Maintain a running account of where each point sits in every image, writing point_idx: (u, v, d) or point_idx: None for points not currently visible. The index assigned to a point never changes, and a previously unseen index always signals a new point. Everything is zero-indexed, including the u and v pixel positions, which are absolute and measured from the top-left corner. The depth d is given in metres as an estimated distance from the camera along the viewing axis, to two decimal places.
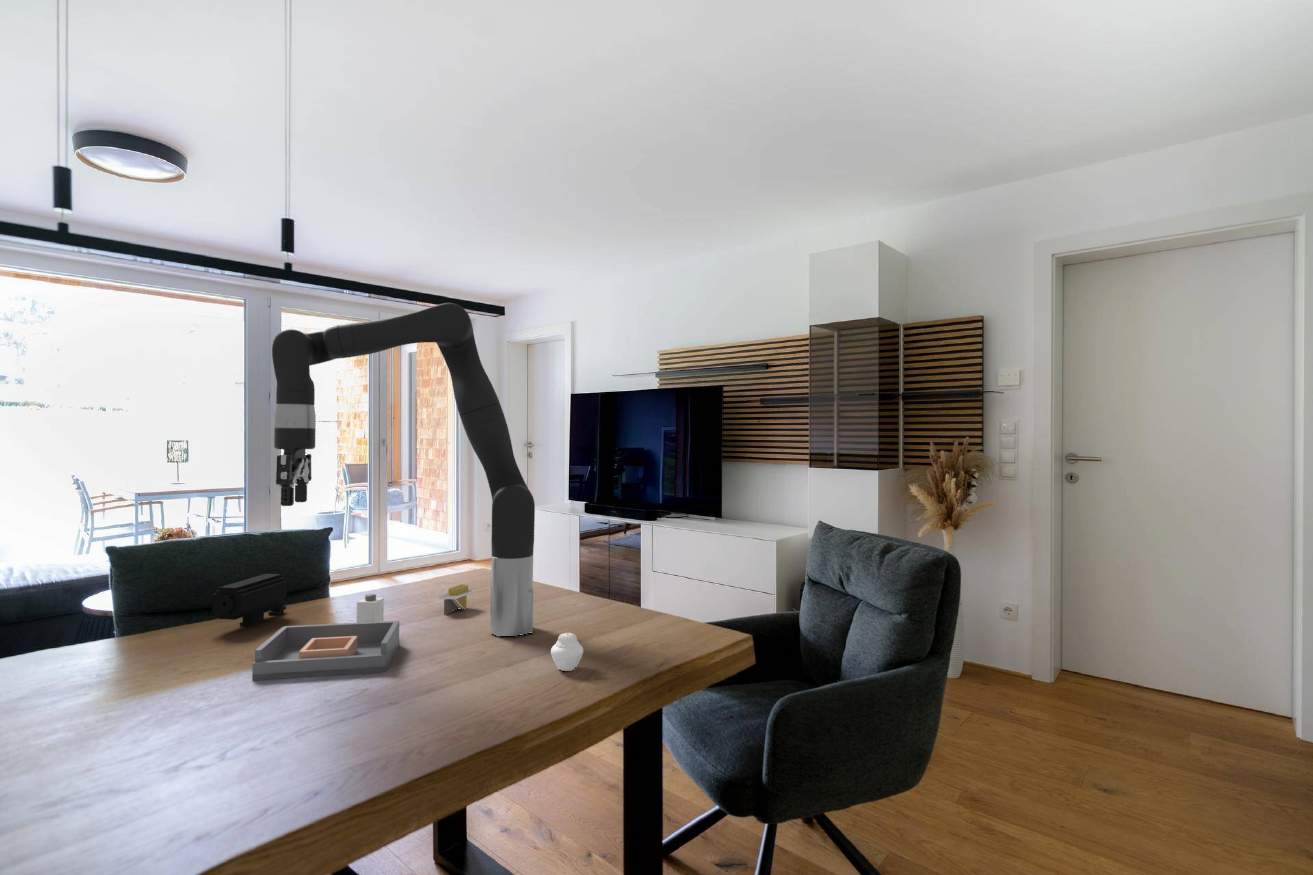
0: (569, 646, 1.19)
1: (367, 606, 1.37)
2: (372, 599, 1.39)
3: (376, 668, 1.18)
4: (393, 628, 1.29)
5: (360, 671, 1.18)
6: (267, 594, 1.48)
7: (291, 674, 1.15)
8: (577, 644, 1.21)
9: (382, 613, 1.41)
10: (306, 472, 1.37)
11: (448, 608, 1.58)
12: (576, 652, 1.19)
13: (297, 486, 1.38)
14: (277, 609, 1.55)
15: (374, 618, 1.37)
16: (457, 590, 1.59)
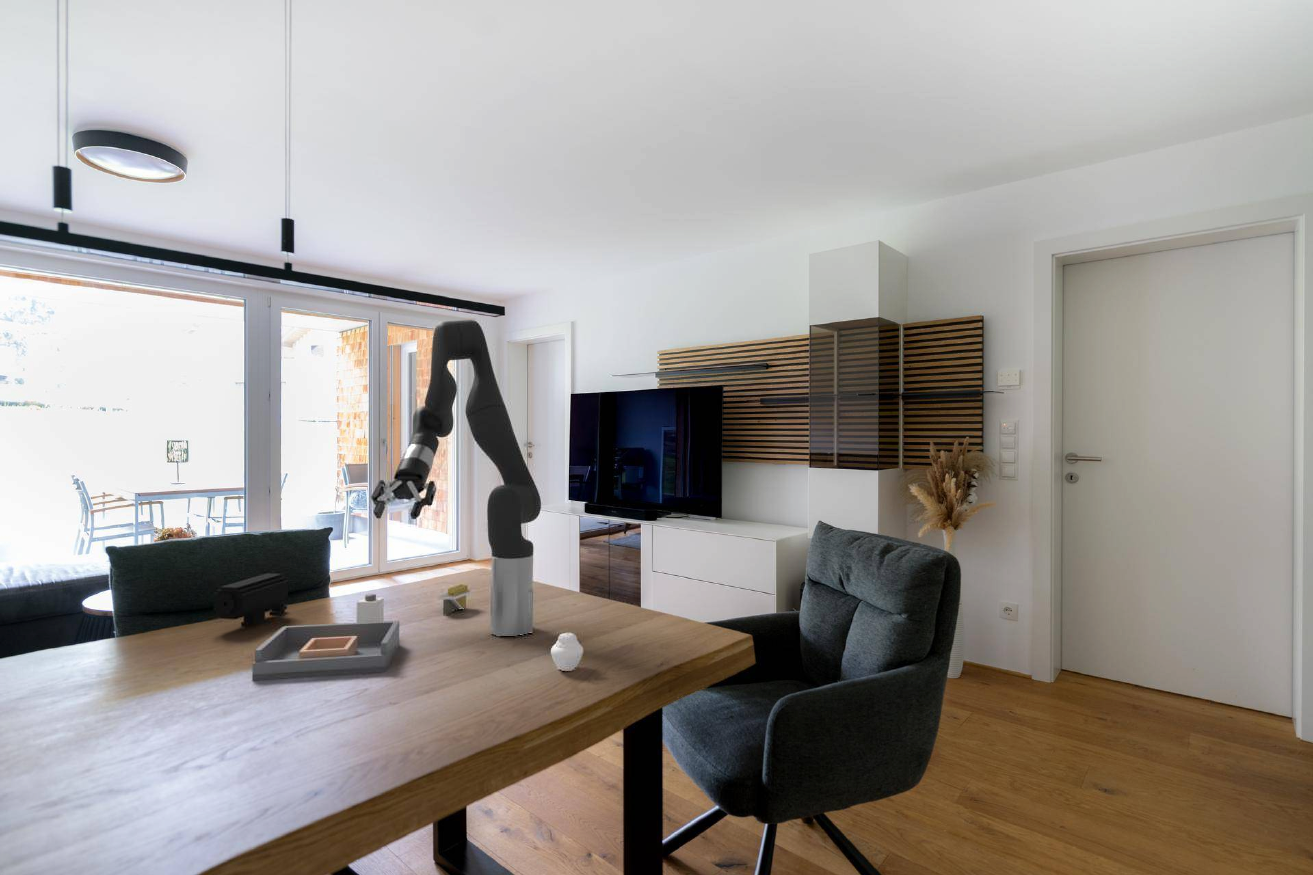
0: (569, 646, 1.19)
1: (367, 606, 1.37)
2: (372, 599, 1.39)
3: (376, 668, 1.18)
4: (393, 628, 1.29)
5: (360, 671, 1.18)
6: (268, 594, 1.48)
7: (291, 674, 1.15)
8: (577, 644, 1.21)
9: (382, 613, 1.41)
10: (411, 491, 1.54)
11: (447, 608, 1.58)
12: (576, 652, 1.19)
13: None
14: (278, 609, 1.56)
15: (374, 618, 1.37)
16: (456, 590, 1.59)
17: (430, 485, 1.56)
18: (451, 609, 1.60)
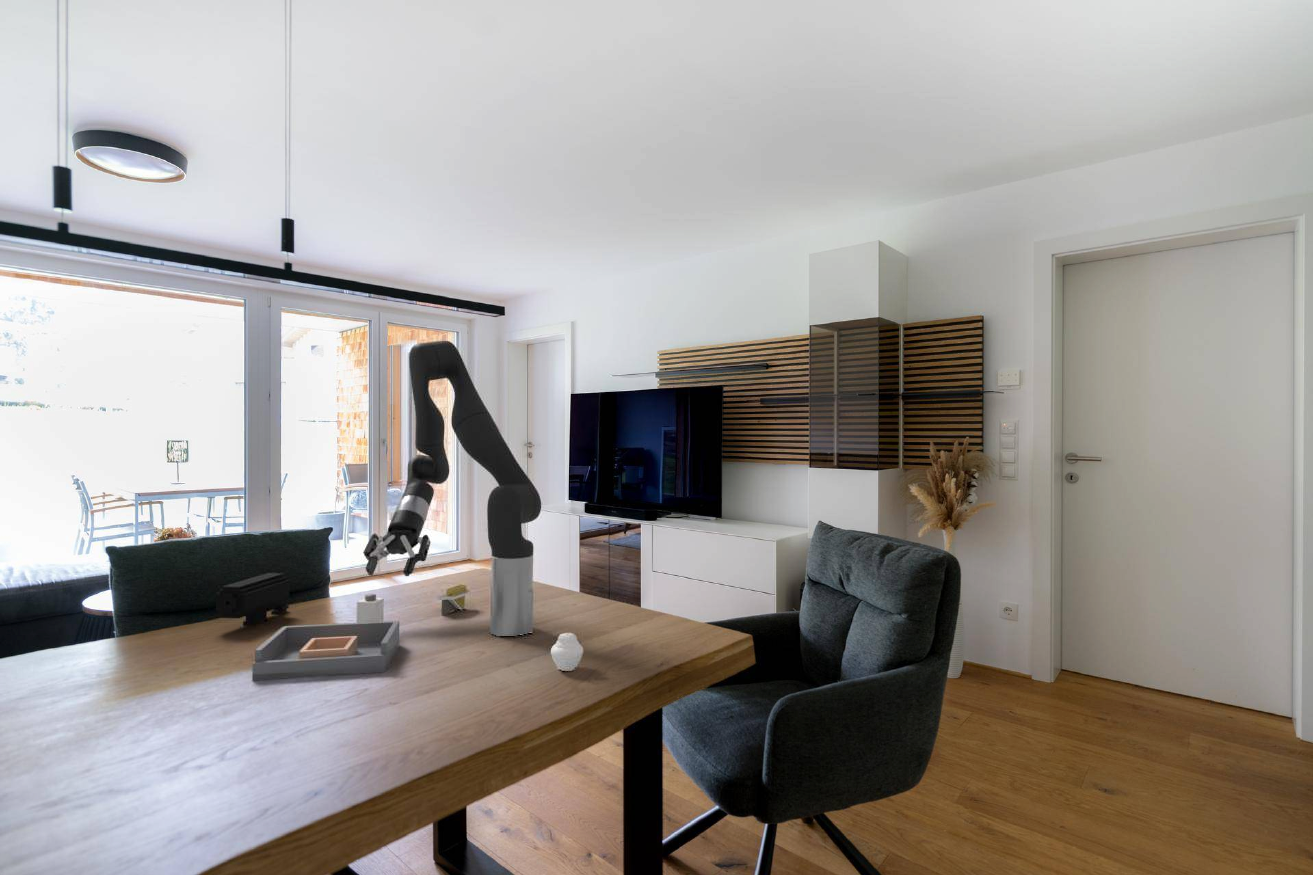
0: (569, 646, 1.19)
1: (367, 606, 1.37)
2: (372, 599, 1.39)
3: (376, 668, 1.18)
4: (393, 628, 1.29)
5: (360, 671, 1.18)
6: (270, 593, 1.49)
7: (291, 674, 1.15)
8: (577, 644, 1.21)
9: (382, 613, 1.41)
10: (405, 547, 1.51)
11: (445, 608, 1.58)
12: (576, 652, 1.19)
13: None
14: (280, 608, 1.56)
15: (374, 618, 1.37)
16: (455, 591, 1.59)
17: (424, 539, 1.53)
18: (450, 609, 1.59)
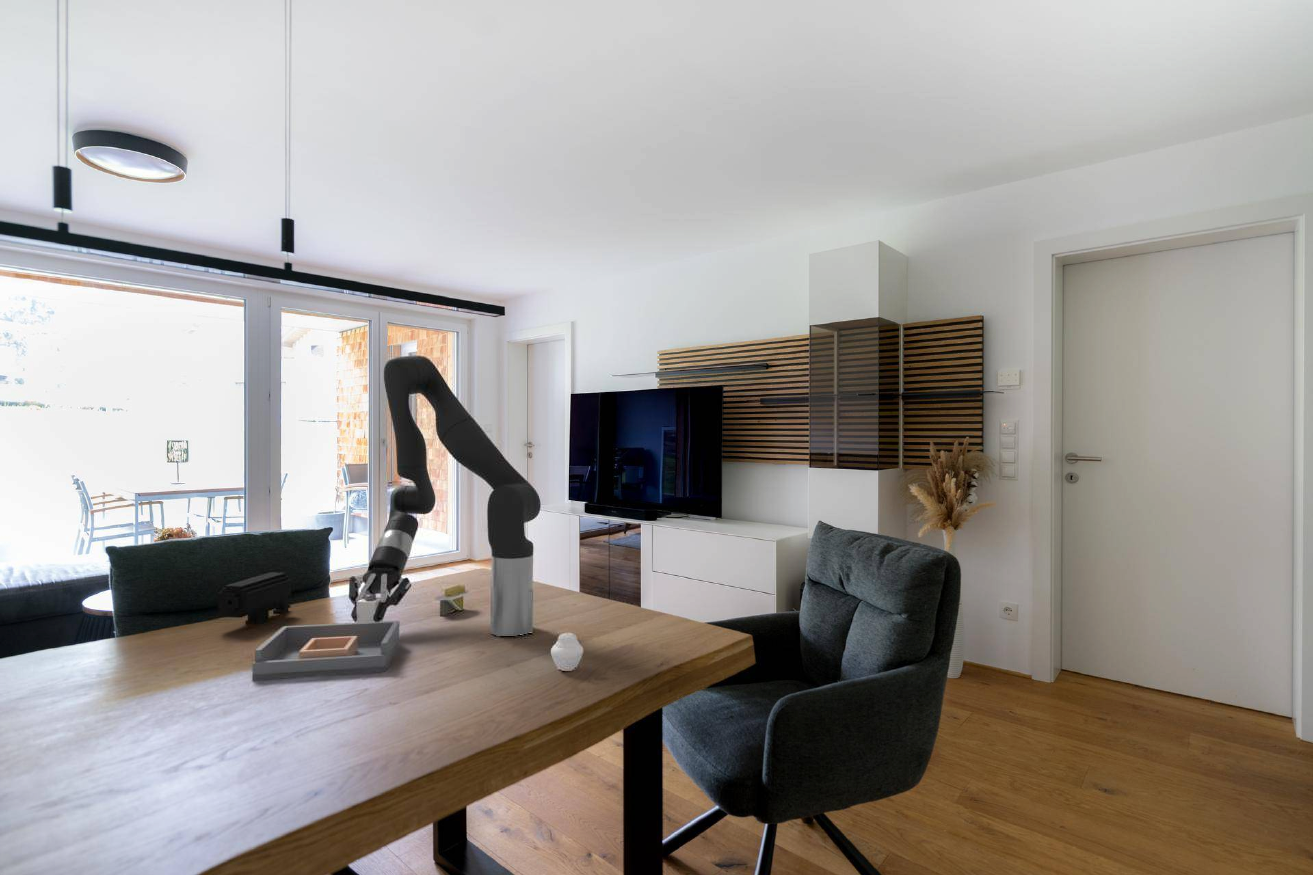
0: (569, 646, 1.19)
1: (366, 606, 1.37)
2: (372, 599, 1.39)
3: (376, 668, 1.18)
4: (393, 628, 1.29)
5: (360, 671, 1.18)
6: (272, 593, 1.49)
7: (291, 674, 1.15)
8: (577, 644, 1.21)
9: None
10: (381, 587, 1.41)
11: (444, 609, 1.57)
12: (576, 652, 1.19)
13: None
14: (282, 607, 1.57)
15: None
16: (453, 591, 1.58)
17: (403, 583, 1.42)
18: (448, 610, 1.59)
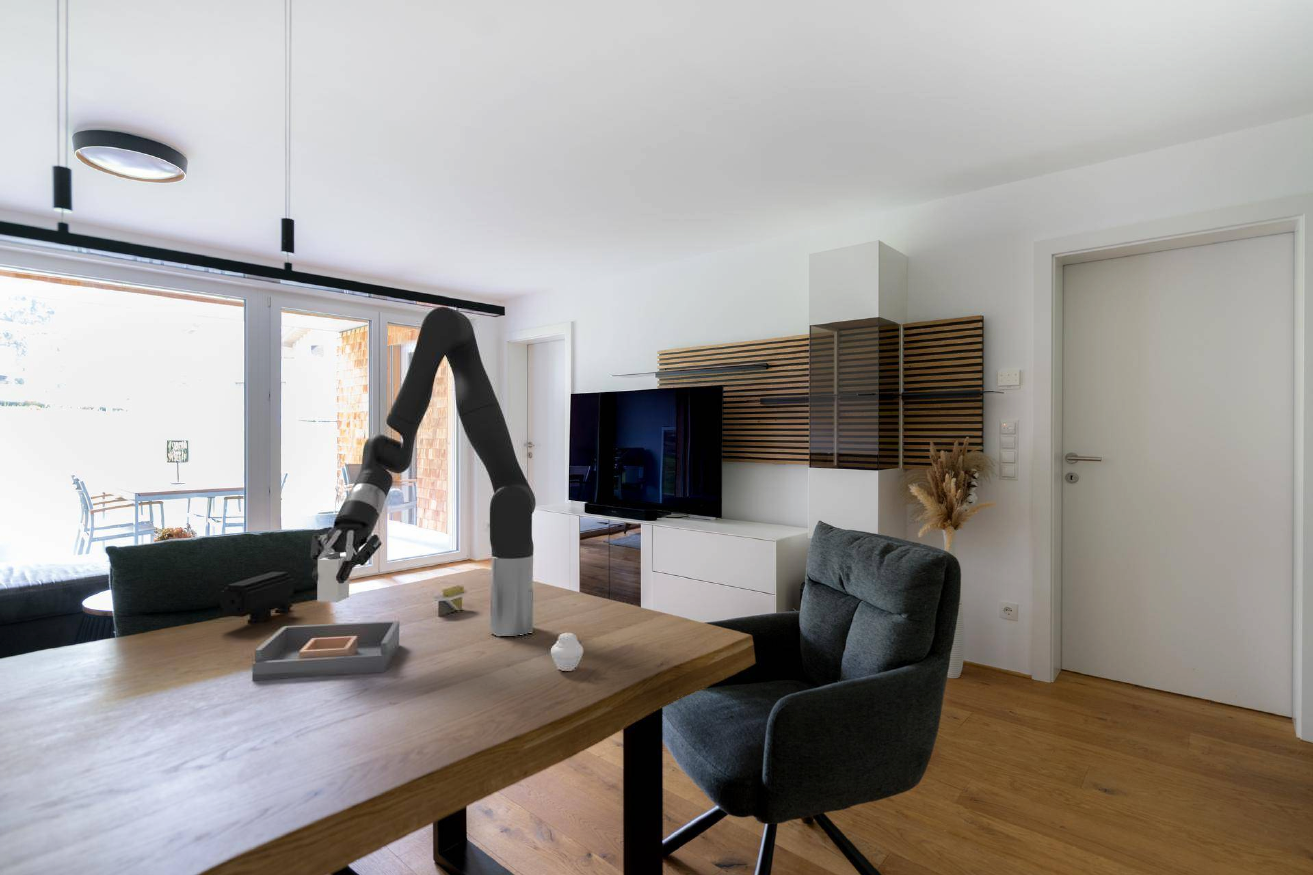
0: (569, 646, 1.19)
1: (329, 565, 1.22)
2: (335, 557, 1.23)
3: (376, 668, 1.18)
4: (393, 628, 1.29)
5: (360, 671, 1.18)
6: (274, 592, 1.50)
7: (291, 674, 1.15)
8: (577, 644, 1.21)
9: None
10: (346, 545, 1.26)
11: (442, 609, 1.57)
12: (576, 652, 1.19)
13: None
14: (284, 607, 1.58)
15: None
16: (452, 591, 1.58)
17: (371, 540, 1.27)
18: (447, 610, 1.58)
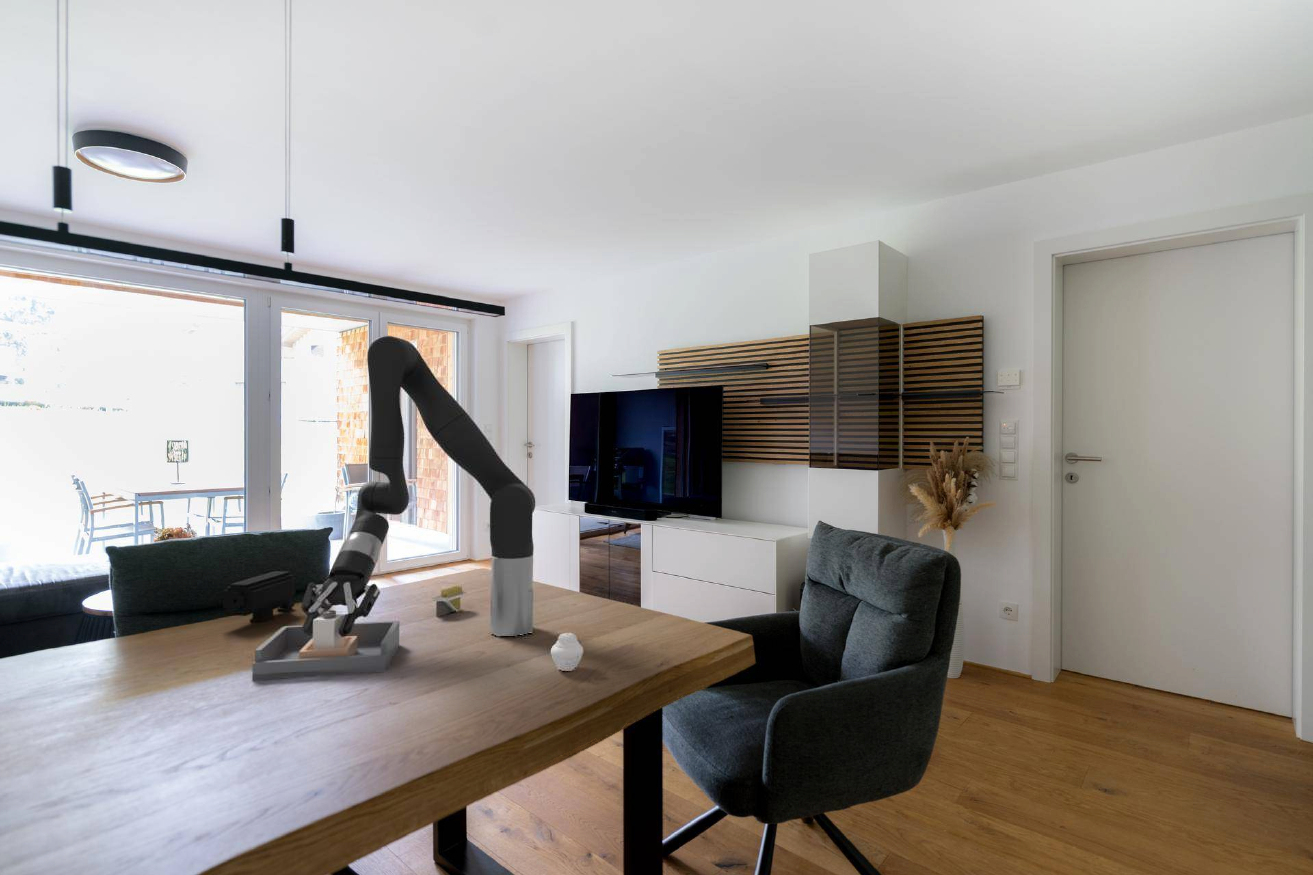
0: (569, 646, 1.19)
1: (324, 625, 1.20)
2: (331, 616, 1.21)
3: (376, 668, 1.18)
4: (393, 628, 1.29)
5: (360, 671, 1.18)
6: (276, 591, 1.51)
7: (291, 674, 1.15)
8: (577, 644, 1.21)
9: None
10: (345, 598, 1.24)
11: (440, 610, 1.56)
12: (576, 652, 1.19)
13: None
14: (286, 606, 1.58)
15: (333, 638, 1.20)
16: (450, 592, 1.57)
17: (370, 590, 1.25)
18: (445, 611, 1.58)
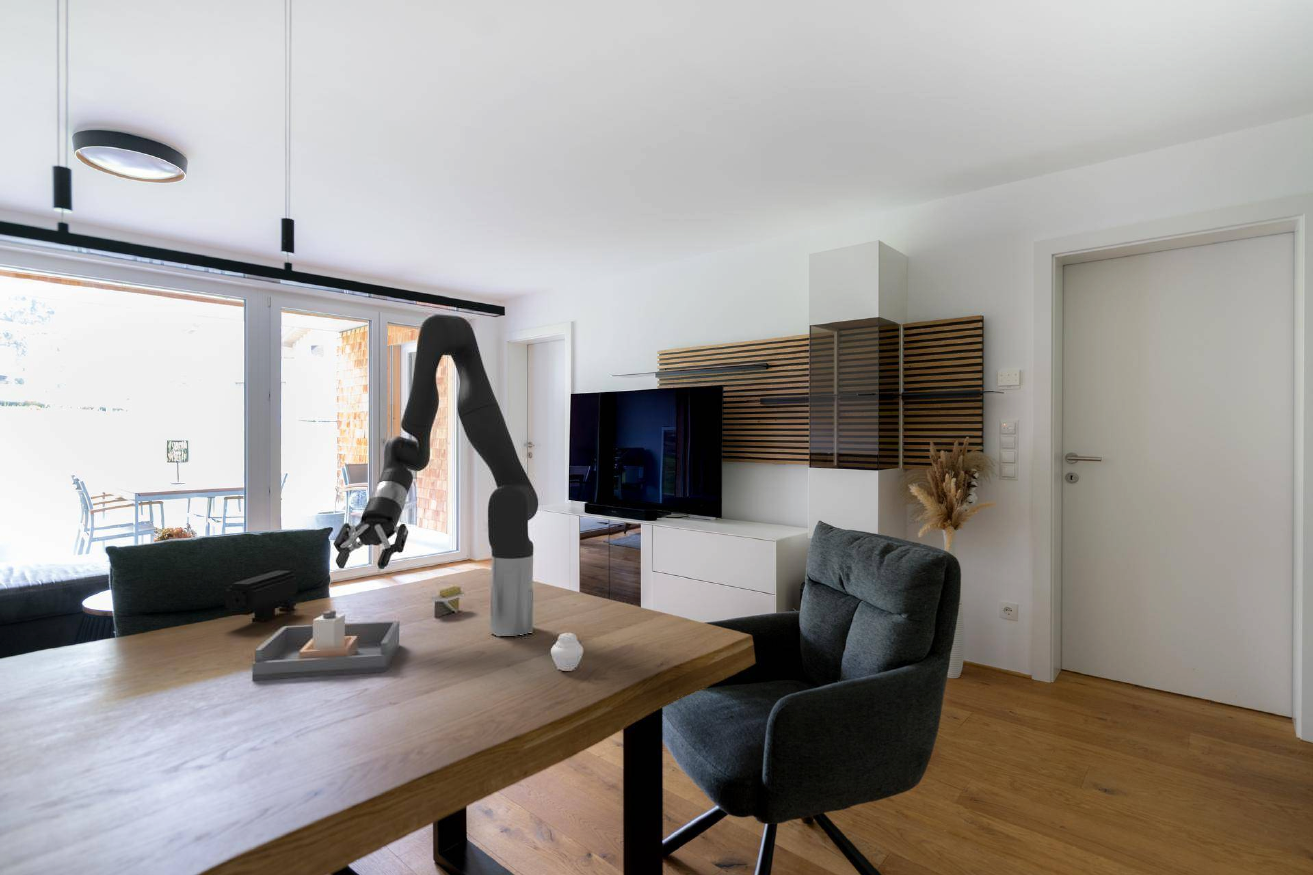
0: (569, 646, 1.19)
1: (324, 625, 1.20)
2: (331, 616, 1.21)
3: (376, 668, 1.18)
4: (393, 628, 1.29)
5: (360, 671, 1.18)
6: (278, 591, 1.51)
7: (291, 674, 1.15)
8: (577, 644, 1.21)
9: (343, 632, 1.23)
10: (379, 537, 1.37)
11: (438, 610, 1.56)
12: (576, 652, 1.19)
13: None
14: (287, 605, 1.59)
15: (333, 638, 1.20)
16: (448, 592, 1.57)
17: (401, 529, 1.38)
18: (443, 611, 1.57)
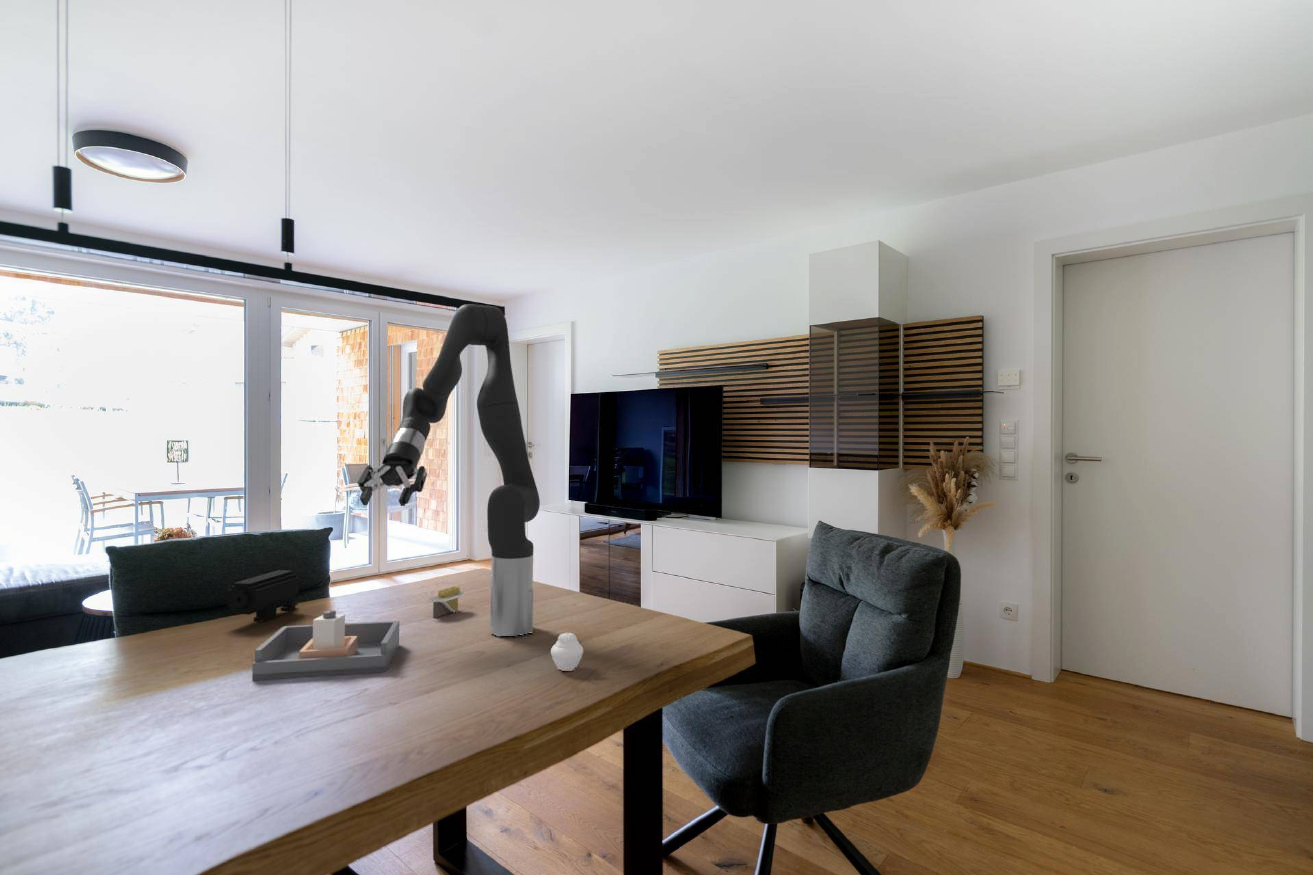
0: (569, 646, 1.19)
1: (324, 625, 1.20)
2: (331, 616, 1.21)
3: (376, 668, 1.18)
4: (393, 628, 1.29)
5: (360, 671, 1.18)
6: (279, 590, 1.52)
7: (291, 674, 1.15)
8: (577, 644, 1.21)
9: (343, 632, 1.23)
10: (400, 477, 1.46)
11: (437, 611, 1.56)
12: (576, 652, 1.19)
13: None
14: (289, 605, 1.60)
15: (333, 638, 1.20)
16: (447, 593, 1.56)
17: (420, 470, 1.48)
18: (442, 612, 1.57)
